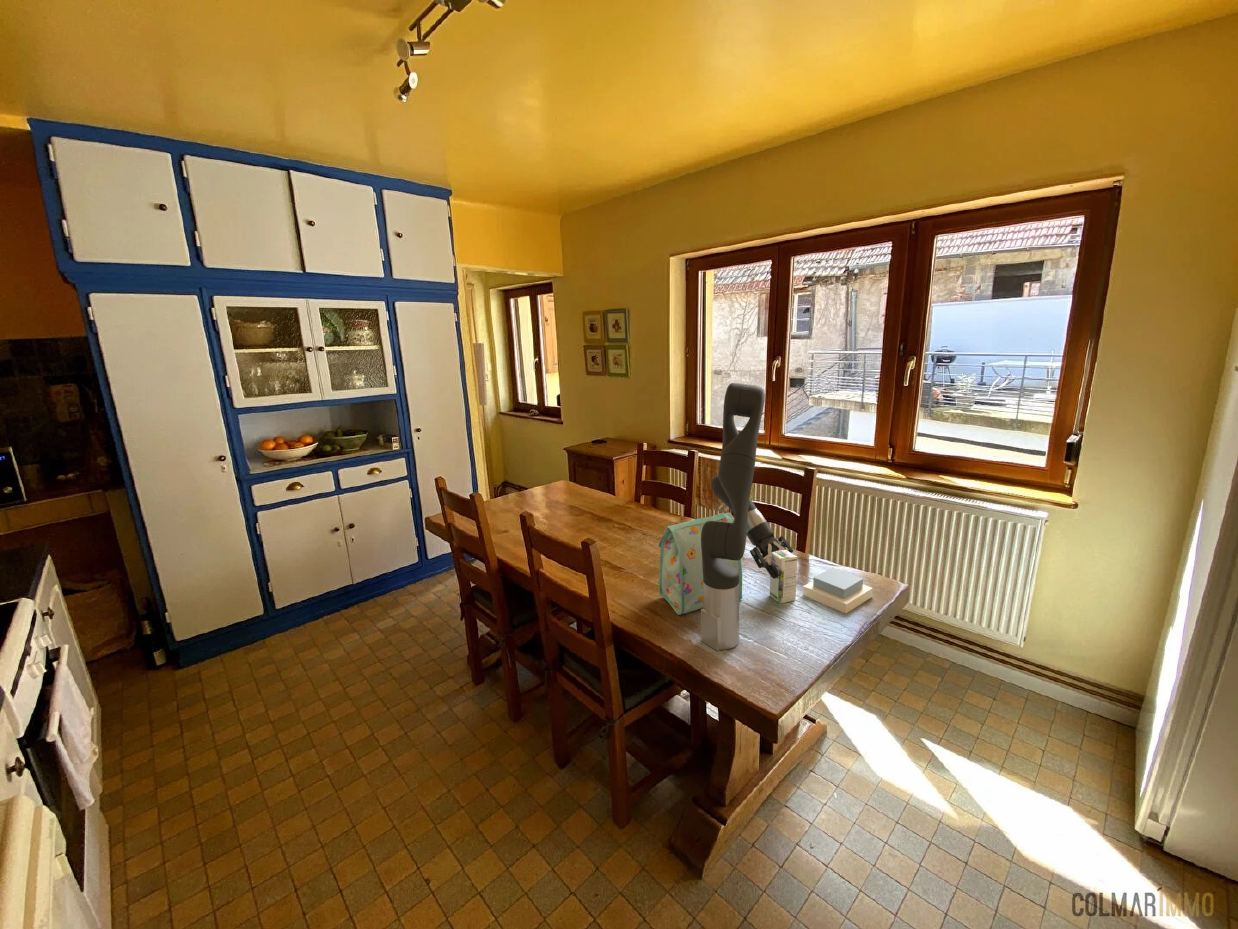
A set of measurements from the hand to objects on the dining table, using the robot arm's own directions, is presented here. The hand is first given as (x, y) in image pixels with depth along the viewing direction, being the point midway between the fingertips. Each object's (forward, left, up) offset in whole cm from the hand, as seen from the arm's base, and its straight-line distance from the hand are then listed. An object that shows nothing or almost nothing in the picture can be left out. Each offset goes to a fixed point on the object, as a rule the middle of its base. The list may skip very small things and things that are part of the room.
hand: (785, 573), depth 151 cm
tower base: (+13, -9, -9) cm, 18 cm away
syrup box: (0, +1, -9) cm, 9 cm away
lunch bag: (-19, +17, -9) cm, 27 cm away
